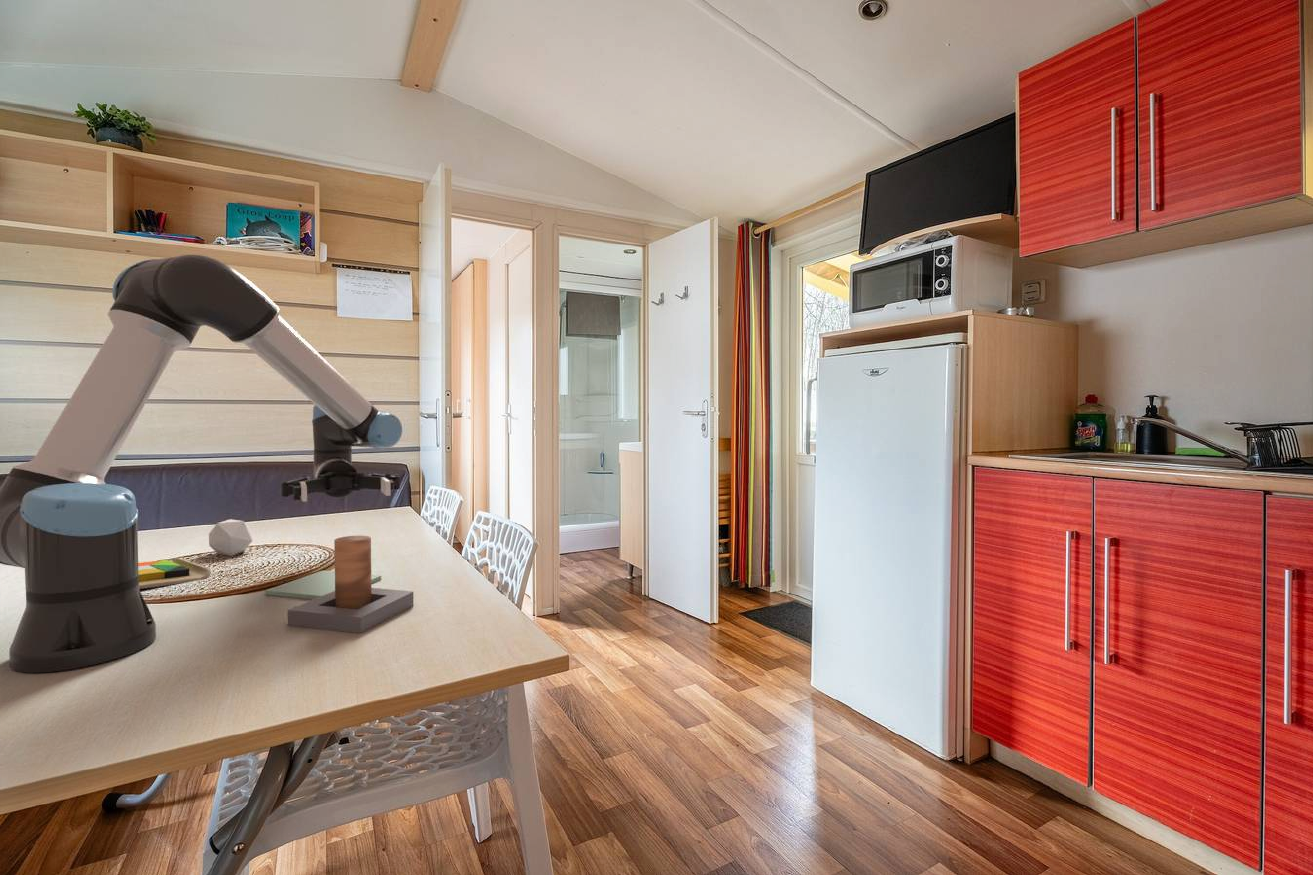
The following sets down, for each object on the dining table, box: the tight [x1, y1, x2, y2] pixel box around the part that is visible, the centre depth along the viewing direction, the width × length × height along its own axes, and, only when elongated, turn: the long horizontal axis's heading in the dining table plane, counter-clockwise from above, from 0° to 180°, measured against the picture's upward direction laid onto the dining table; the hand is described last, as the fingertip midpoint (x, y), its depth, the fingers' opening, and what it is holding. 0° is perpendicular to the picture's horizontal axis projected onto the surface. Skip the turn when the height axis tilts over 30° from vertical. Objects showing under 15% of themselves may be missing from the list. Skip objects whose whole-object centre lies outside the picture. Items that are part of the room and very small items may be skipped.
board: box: [264, 570, 382, 600], centre depth 117 cm, size 14×14×1 cm
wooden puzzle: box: [138, 557, 212, 590], centre depth 119 cm, size 18×19×4 cm
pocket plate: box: [286, 587, 414, 634], centre depth 102 cm, size 14×14×2 cm
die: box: [208, 519, 253, 557], centre depth 141 cm, size 8×9×10 cm
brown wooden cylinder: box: [333, 534, 372, 609], centre depth 102 cm, size 6×6×13 cm
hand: (347, 491), depth 109 cm, fingers open, 13 cm apart
